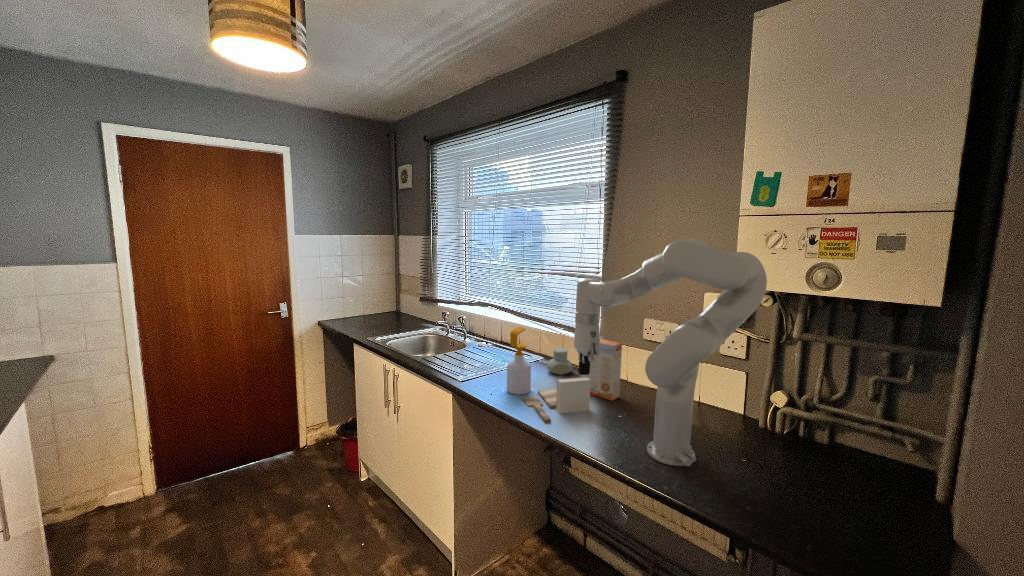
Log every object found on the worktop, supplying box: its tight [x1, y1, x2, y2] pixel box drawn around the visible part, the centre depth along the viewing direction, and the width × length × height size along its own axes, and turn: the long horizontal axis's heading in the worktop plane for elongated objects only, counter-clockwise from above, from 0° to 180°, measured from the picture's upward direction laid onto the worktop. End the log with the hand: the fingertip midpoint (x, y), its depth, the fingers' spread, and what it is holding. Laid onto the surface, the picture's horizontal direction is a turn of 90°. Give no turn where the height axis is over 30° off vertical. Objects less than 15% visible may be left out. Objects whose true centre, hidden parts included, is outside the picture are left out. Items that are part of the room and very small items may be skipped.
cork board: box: [537, 388, 557, 409], centre depth 156 cm, size 14×14×1 cm
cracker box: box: [580, 338, 623, 402], centre depth 159 cm, size 14×6×21 cm, turn 48°
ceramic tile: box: [555, 376, 591, 415], centre depth 145 cm, size 3×11×11 cm, turn 105°
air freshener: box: [546, 348, 574, 376], centre depth 183 cm, size 11×8×10 cm
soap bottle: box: [506, 326, 532, 396], centre depth 161 cm, size 9×9×25 cm
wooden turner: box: [522, 395, 552, 424], centre depth 146 cm, size 20×6×1 cm, turn 15°
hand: (583, 373), depth 136 cm, fingers closed
